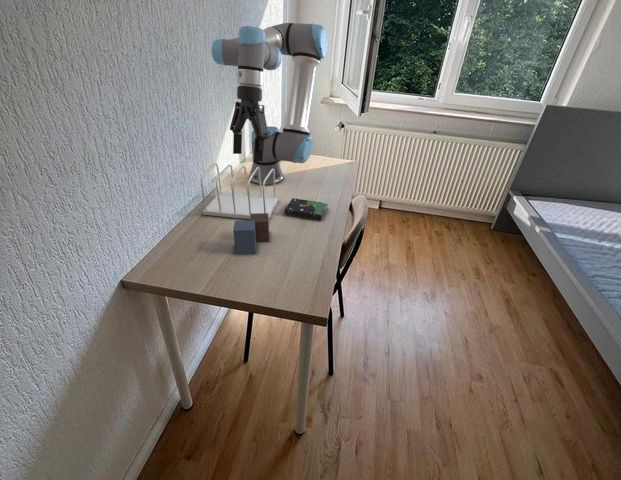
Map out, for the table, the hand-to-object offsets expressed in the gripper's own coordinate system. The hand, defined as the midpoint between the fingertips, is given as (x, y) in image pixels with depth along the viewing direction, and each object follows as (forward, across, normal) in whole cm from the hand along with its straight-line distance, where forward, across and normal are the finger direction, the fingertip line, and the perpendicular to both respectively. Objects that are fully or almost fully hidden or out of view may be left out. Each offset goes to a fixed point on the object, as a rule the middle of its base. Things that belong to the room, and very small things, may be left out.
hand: (247, 157), depth 113 cm
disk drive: (+22, +1, +27) cm, 35 cm away
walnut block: (+26, +6, +3) cm, 27 cm away
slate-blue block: (+28, +9, -4) cm, 30 cm away
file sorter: (+23, -16, +8) cm, 29 cm away
